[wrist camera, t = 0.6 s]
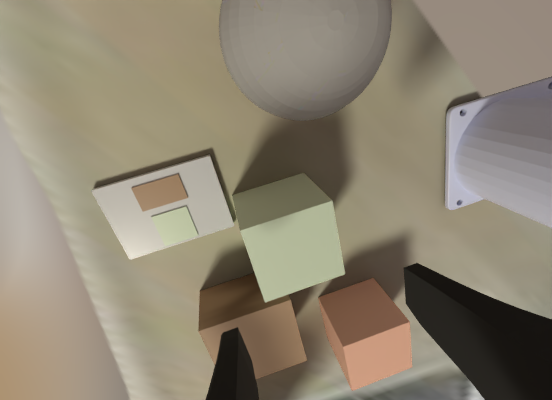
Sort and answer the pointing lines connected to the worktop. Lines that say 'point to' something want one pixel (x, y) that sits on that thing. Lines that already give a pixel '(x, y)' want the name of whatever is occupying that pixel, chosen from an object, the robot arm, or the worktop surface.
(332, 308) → the terracotta block
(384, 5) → the light bulb
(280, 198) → the sage block
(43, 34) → the worktop surface
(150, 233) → the card
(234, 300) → the walnut block
